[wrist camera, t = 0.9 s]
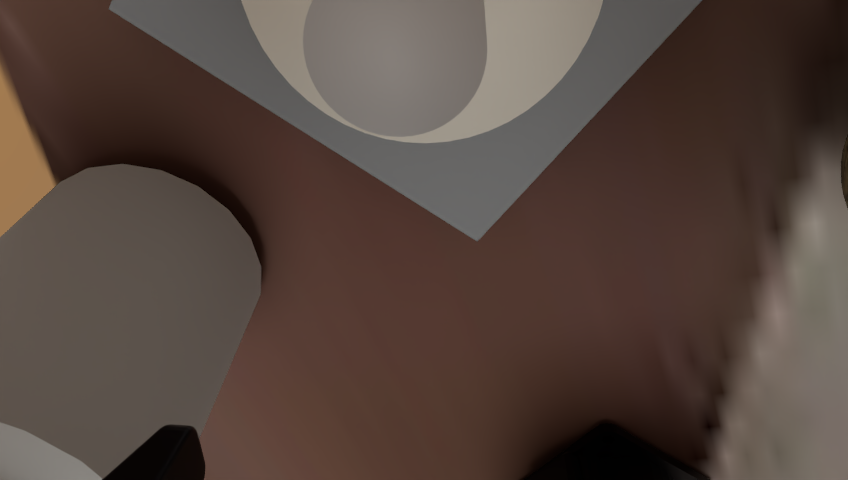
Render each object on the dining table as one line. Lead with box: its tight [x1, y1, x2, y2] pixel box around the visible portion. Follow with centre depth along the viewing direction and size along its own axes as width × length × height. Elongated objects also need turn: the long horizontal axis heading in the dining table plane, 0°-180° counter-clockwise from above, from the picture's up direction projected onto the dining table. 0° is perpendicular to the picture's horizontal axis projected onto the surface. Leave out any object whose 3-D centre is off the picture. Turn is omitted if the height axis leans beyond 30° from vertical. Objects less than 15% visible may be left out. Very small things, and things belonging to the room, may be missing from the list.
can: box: [0, 164, 261, 480], centre depth 18 cm, size 8×8×12 cm
